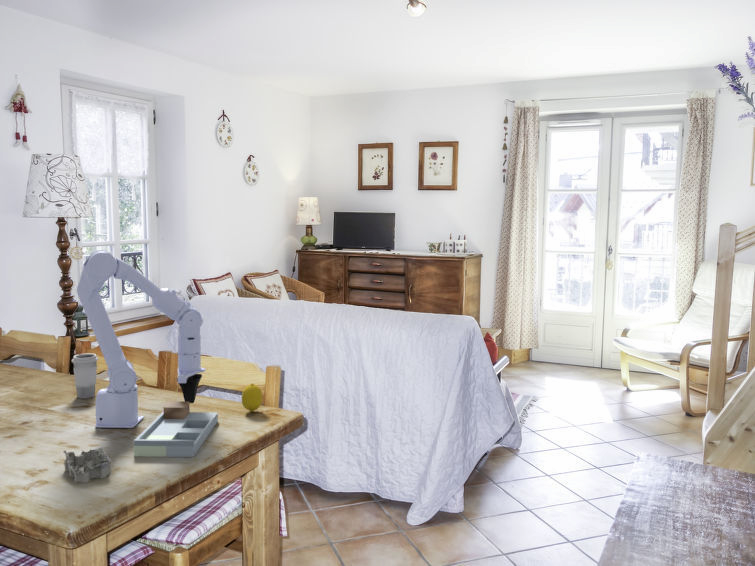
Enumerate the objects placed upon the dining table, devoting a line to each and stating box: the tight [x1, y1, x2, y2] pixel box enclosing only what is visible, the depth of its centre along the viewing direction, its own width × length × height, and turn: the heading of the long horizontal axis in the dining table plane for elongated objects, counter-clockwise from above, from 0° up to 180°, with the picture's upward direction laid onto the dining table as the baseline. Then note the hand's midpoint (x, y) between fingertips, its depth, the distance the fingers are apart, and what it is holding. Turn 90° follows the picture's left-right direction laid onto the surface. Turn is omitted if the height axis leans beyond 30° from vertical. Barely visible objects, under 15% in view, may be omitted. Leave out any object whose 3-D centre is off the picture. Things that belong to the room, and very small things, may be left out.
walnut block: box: [163, 400, 191, 419], centre depth 152 cm, size 5×5×3 cm
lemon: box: [241, 383, 263, 413], centre depth 164 cm, size 6×6×8 cm
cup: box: [71, 352, 99, 400], centre depth 174 cm, size 7×7×12 cm
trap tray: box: [133, 410, 219, 458], centre depth 144 cm, size 13×23×4 cm, turn 2°
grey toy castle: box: [63, 447, 112, 484], centre depth 124 cm, size 11×8×4 cm
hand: (189, 402), depth 160 cm, fingers closed
